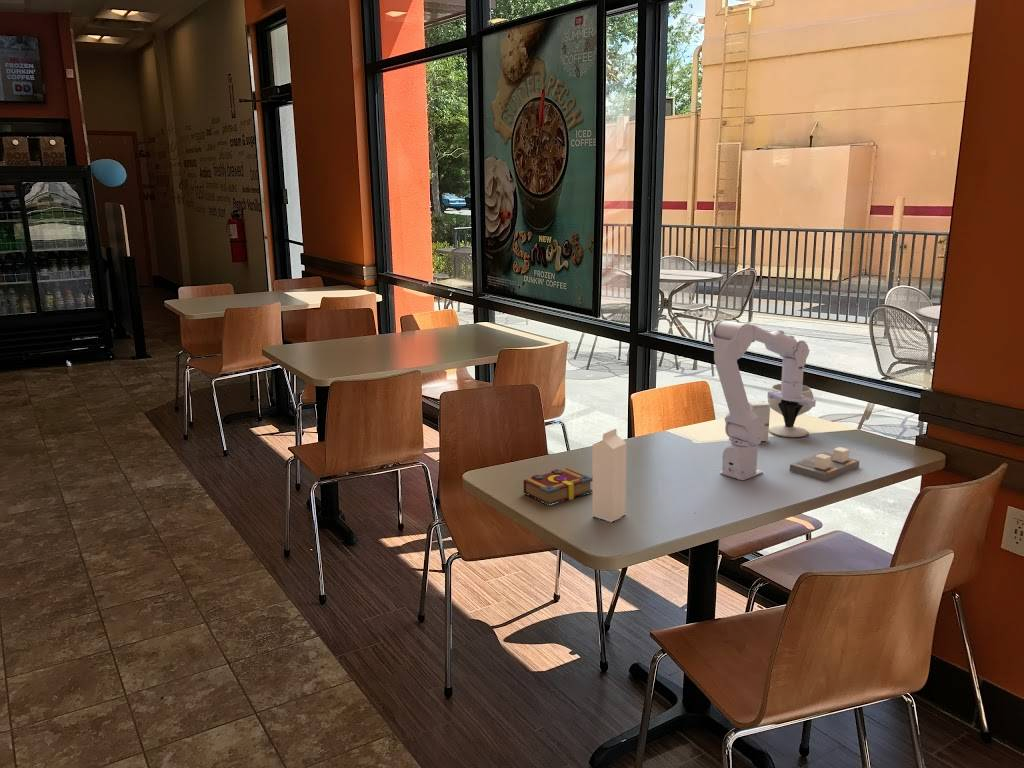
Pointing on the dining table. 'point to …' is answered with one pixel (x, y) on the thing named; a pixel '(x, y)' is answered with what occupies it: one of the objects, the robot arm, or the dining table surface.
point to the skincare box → (762, 414)
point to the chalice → (774, 405)
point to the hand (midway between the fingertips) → (789, 426)
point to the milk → (609, 476)
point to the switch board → (809, 470)
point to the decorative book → (557, 486)
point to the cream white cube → (822, 461)
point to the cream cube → (841, 454)
